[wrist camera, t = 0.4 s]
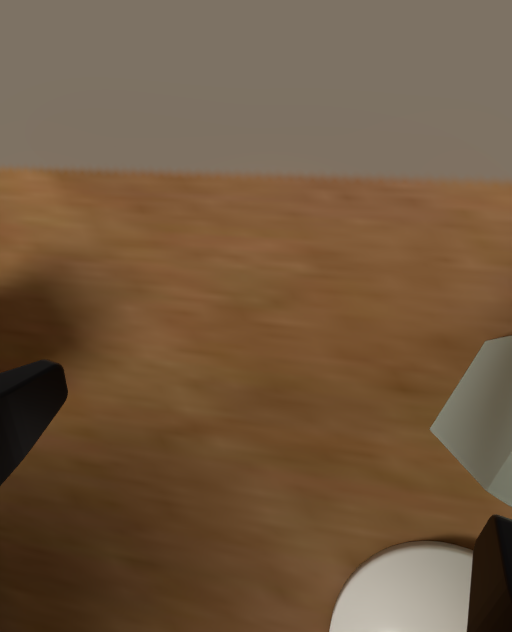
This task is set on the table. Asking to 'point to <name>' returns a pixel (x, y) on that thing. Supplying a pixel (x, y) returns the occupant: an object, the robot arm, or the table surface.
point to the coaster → (407, 590)
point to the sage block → (483, 419)
